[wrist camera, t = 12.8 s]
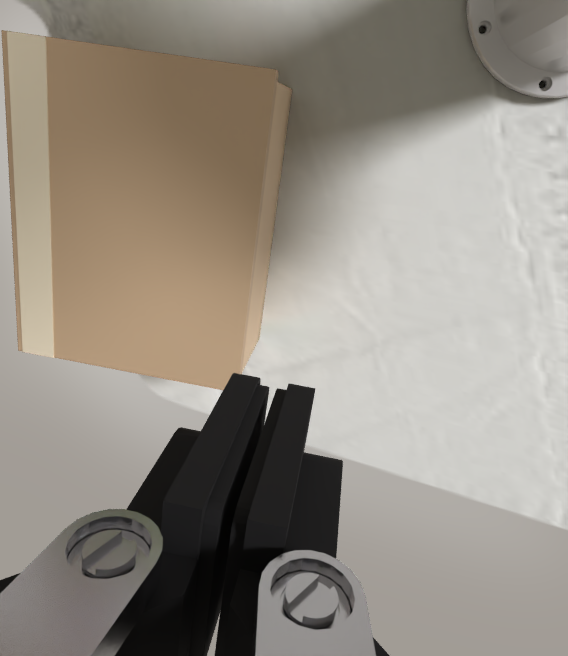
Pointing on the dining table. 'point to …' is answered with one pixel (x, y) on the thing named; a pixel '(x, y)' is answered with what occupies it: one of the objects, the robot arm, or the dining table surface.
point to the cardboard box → (267, 216)
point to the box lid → (135, 204)
